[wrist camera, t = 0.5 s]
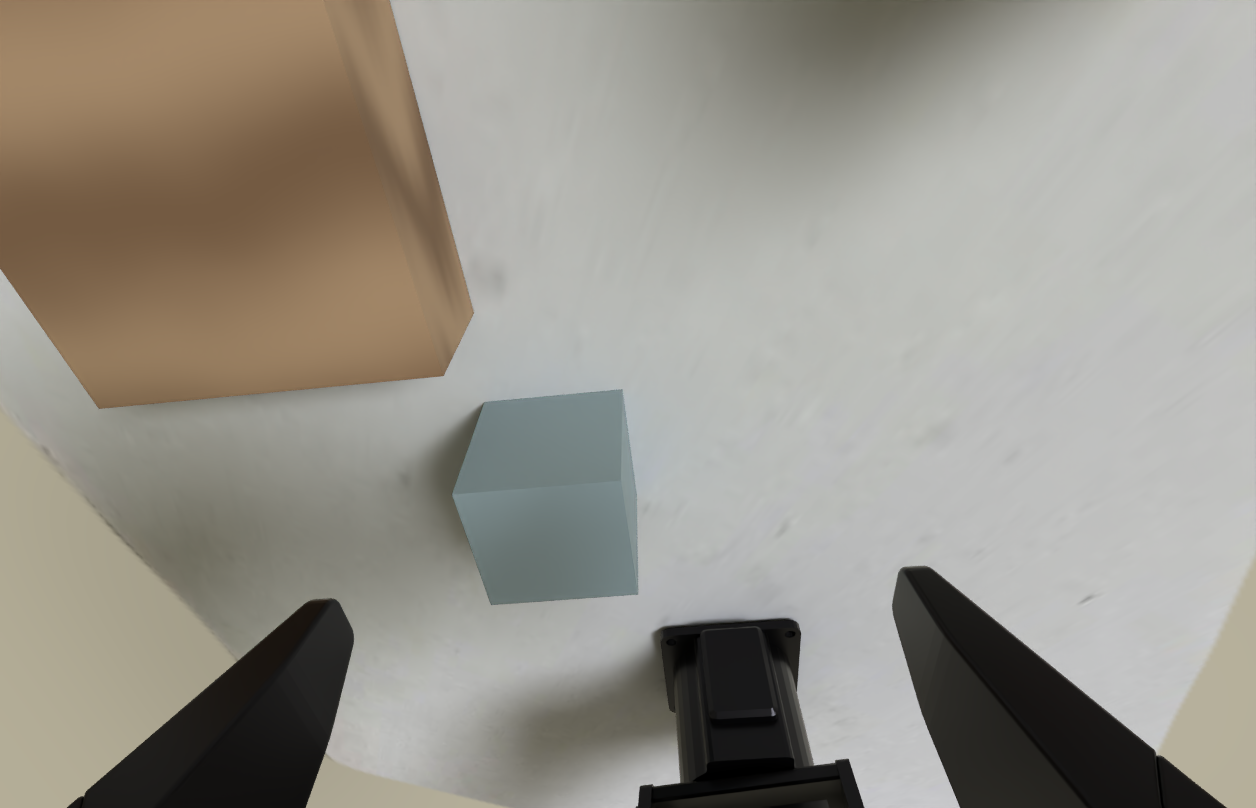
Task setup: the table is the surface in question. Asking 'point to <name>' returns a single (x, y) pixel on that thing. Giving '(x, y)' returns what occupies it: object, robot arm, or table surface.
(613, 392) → the slate block
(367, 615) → the table surface
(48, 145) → the walnut block
